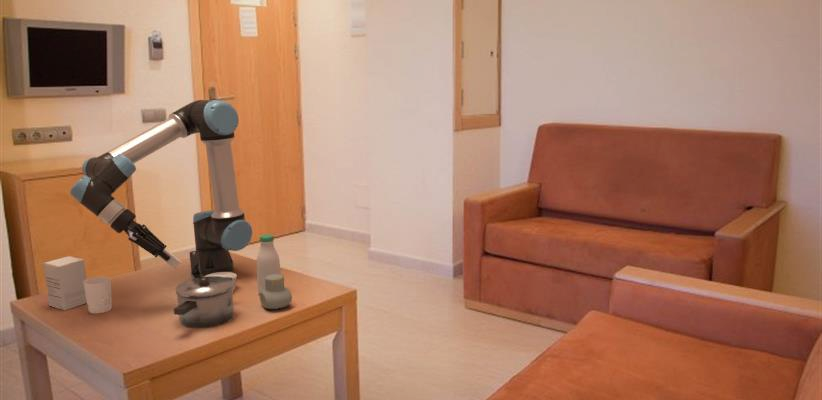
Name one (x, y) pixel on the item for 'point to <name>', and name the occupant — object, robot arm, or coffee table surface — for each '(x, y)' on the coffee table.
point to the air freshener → (275, 293)
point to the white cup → (98, 294)
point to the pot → (205, 310)
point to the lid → (202, 282)
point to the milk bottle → (266, 261)
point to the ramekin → (226, 274)
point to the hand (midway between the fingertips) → (178, 265)
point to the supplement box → (65, 282)
